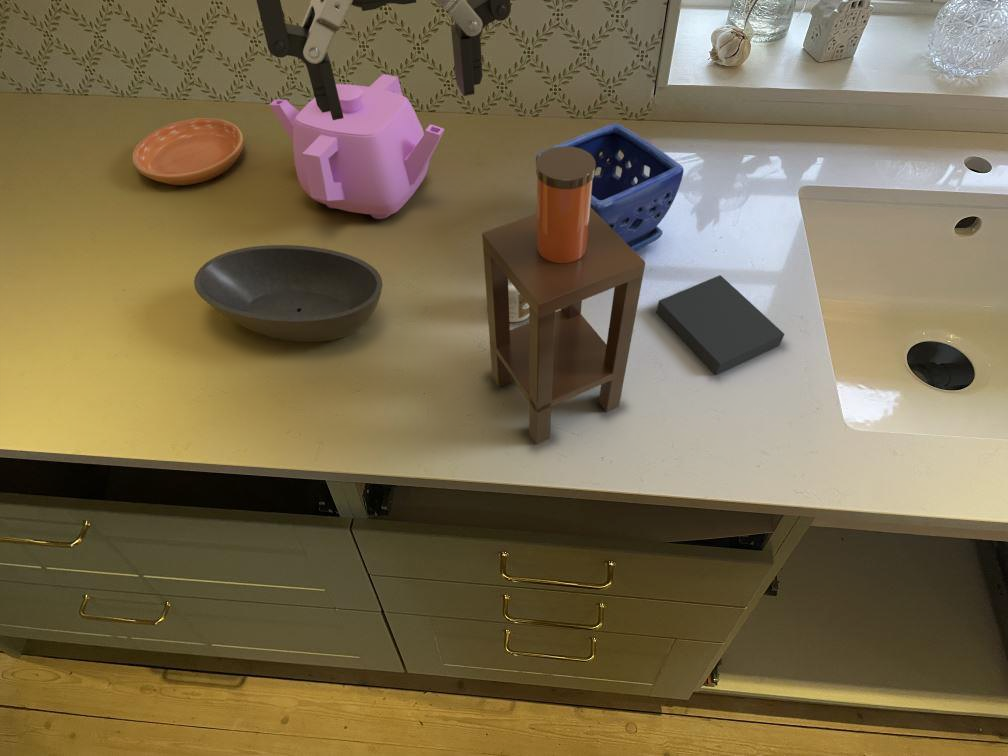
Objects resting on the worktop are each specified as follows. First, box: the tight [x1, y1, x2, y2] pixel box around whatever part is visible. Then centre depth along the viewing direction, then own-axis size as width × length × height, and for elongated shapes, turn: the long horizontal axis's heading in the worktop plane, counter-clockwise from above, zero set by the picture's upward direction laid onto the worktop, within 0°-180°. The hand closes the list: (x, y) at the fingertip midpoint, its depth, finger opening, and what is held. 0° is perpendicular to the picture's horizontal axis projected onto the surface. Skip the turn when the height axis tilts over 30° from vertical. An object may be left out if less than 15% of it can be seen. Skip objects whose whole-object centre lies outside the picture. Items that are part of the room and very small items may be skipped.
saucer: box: [131, 117, 245, 186], centre depth 99 cm, size 16×16×3 cm
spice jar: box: [535, 146, 596, 263], centre depth 51 cm, size 4×4×8 cm
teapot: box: [268, 73, 445, 220], centre depth 88 cm, size 19×18×15 cm
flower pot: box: [535, 122, 684, 252], centre depth 81 cm, size 13×13×12 cm
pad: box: [656, 274, 785, 376], centre depth 74 cm, size 11×9×2 cm
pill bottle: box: [508, 279, 529, 323], centre depth 75 cm, size 4×4×8 cm
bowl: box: [193, 244, 383, 343], centre depth 75 cm, size 12×22×6 cm, turn 79°
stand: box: [481, 207, 646, 445], centre depth 62 cm, size 10×10×20 cm
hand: (402, 101), depth 42 cm, fingers open, 8 cm apart
